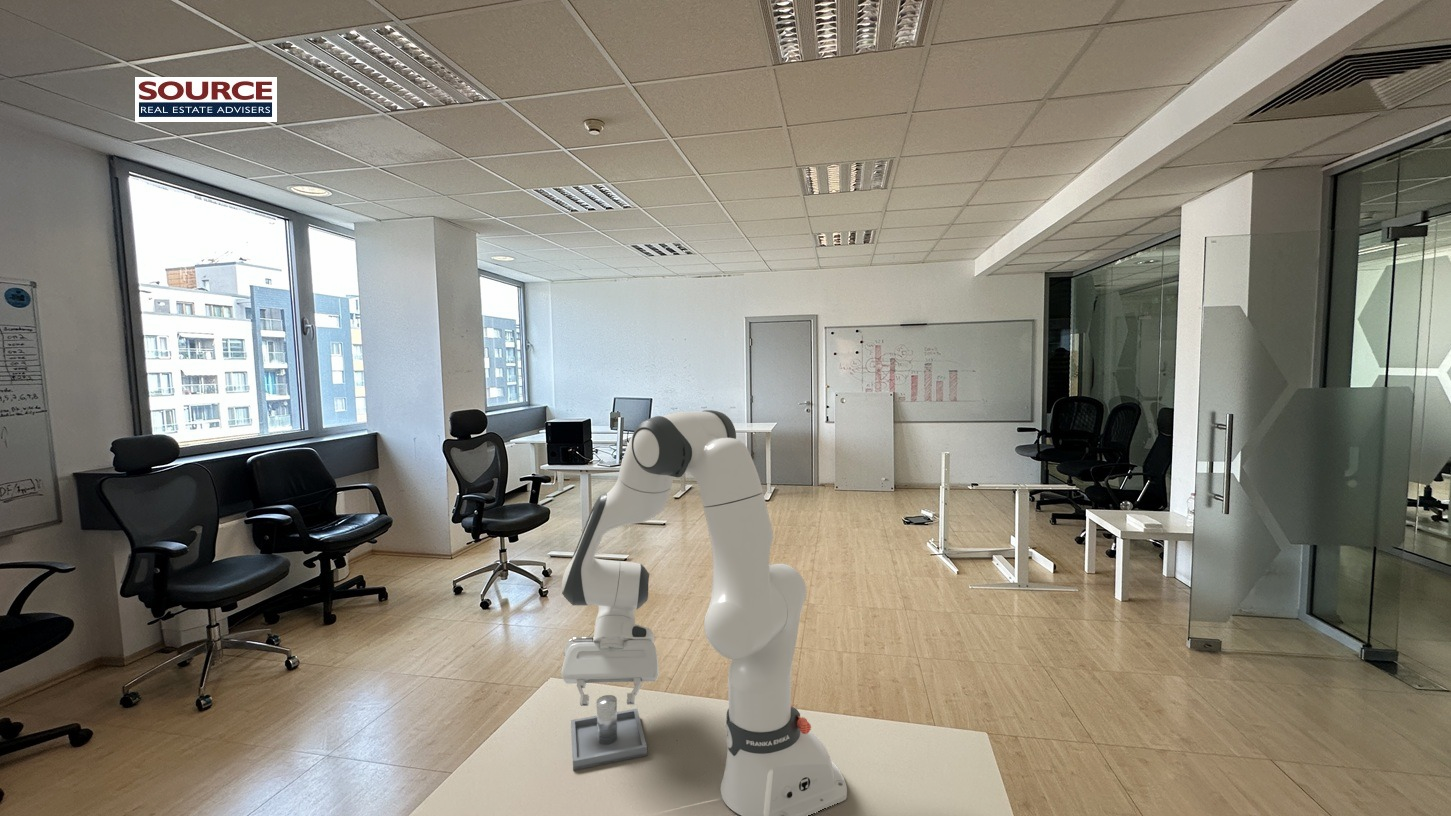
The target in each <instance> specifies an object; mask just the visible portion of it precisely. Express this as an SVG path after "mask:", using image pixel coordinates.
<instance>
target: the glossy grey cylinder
mask: <svg viewBox="0 0 1451 816" xmlns="http://www.w3.org/2000/svg"><path fill="white" fill-rule="evenodd" d="M617 701H618V699H617V697H616V696H615V695H612V694H604V695H601V696H600V697H598V698H597V699H596V716H597V741H598V743H600V744H602V745H609V744H612V743H614V742H615V741H616V740H617V738H618V737H617V712H618V705H617V704H618V702H617Z"/></svg>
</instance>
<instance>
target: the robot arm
mask: <svg viewBox="0 0 1451 816" xmlns="http://www.w3.org/2000/svg"><path fill="white" fill-rule="evenodd" d="M685 473H687V474H689V475H690V476H692V478H694V479H695V481H696V484H697V485H698V488H699V493H700V498H701V504H702V506H703V508H702V509H703V511H704V515H705V516H704V517H705V519H706V526H707V529H708V534H709V535H708V536H709V538H710V539H709V540H710V544H711V550H712V551H711V552H712V583H711V584H712V586H711V596H710V601H709V604H708V606H707V611H706V613H705V617H704V623H703V625H704V626H703V629H704V634H705V637H706V639H707V641H708V643H709V644H710V646H711V647H712V649H713V650H714V651H715V652H716V653H718V654H719V655H720V656H722V657H724V658H727V659H729V660H731V662H730V664H729V666H728V667H729V668H728V674H727V675H728V678H727V679H728V681H727V682H728V709H727V711H726V718H725V719H726V720H725V721H726V722H725V723H726V724H725V740H726V743H725V744H726V746H727V751H726V752H727V754H726V761H725V767H724V772H723V776H722V780H721V783H720V796H721V799H722V800H723V802H724V804H725V805H726V806H727V807H728V809H731V810H732V811H733V812H734V813H735V814H737V815H740V816H807V815H811V814H813V813H815V812H817V811H820V810H821V809H824V808H826V809H828V808H827V807H829V806H831V807H833V806H835V805H837V803H838V804H839V803H842V802H844V801H846V800H847V798H848V787H847V784H846V780H845V778H844V775H843V774H842V771H841V770H840V769H839V767H838V766H837V765H836V763H835V762H834V761H833V760H832V759H831V756H830V753H829V751H828V750H827V748H826V746H825V745H824V743H823V741H822V740H821V739H820V738H819V737H818V735H816V734H815V733H814V732H812V731H811V730H812V725H811V723H809V721H808V719H807V718H805V717H803V716H802V717H801V713H800V712H799V710H798V709H797V708H795V707H793V705H792V693H791V692H792V670H793V669H792V667H793V661H794V655H795V650H796V649H795V648H796V643H797V639H798V634H799V633H798V632H799V625H800V624H799V623H800V619H801V614H802V610H803V607H804V603H805V601H806V597H807V586H806V585H807V584H806V583H805V580H804V578H803V576H802V575H801V574H800V572H799V571H798V570H797V569H796V568H794V567H793V566H791V565H788V564H786V563H774V564H773V563H772V564H770V558H771V557H770V556H771V554H770V553H771V547H772V544H773V539H774V532H773V527H772V524H771V523H772V522H771V519H770V515H769V511H768V507H767V503H766V502H767V501H766V498H765V494H764V489H763V487H762V483H761V479H760V476H759V473H758V470H757V468H756V465H755V463H754V460H753V457H752V456H751V453H750V450H749V449H748V447H747V445H746V444H745V443H744V442H743V441H741V440H739V439H737V433H736V428H735V425H734V423H733V421H732V420H731V418H730V417H728V415H726V414H725V413H723V412H720V411H716V410H710V409H704V410H701V411H699V410H697V411H678V412H673V413H669V414H665V415H656V416H651V418H648V419H646V420H644V421H642V422H641V423H639V424H638V425H637V426H636V428H635V429H634V430H633V434H632V435H631V436H630V439H629V441H628V444H627V446H626V448H625V451H624V453H623V456H622V460H621V463H620V467H619V472H618V476H617V480H616V482H615V484H614V485H613V486H612V488H611V489H610V490H609V491H607V492H605V493H603V494H601V495H599V497H598V498H597V499H596V500H595V502H594V504H593V507H592V509H591V511H590V513H589V516H588V517H587V519H586V523H585V526H584V528H583V530H582V532H581V535H580V538H579V539H578V540H579V541H578V543H577V545H576V548H575V551H574V553H573V555H572V557H571V559H570V561H569V563H568V565H567V566H566V568H565V570H564V573H563V575H562V580H561V594H562V596H563V597H564V598H565V600H566V601H568V602H569V603H570V604H571V606H575V607H577V606H597V607H598V611H597V612H598V613H597V615H596V618H595V621H594V629H593V635H592V636H584V637H583V636H582V637H581V636H575V637H574V636H573V637H572V639H569V640H568V641H567V642H566V643H565V646H564V652H563V655H564V659H563V661H562V662H563V663H562V667H561V672H560V675H561V679H562V681H563V682H564V683H565V684H569V685H570V684H576V687H577V690H578V692H579V695H580V700H579V704H580V707H588V706H589V701H590V696H589V694H586V693H585V691H584V689H586V685H587V684H597V683H598V684H600V683H601V684H602V683H603V684H604V683H605V684H606V683H608V684H609V683H633V686H634V687H633V689H632V691H631V692H629V693H628V692H627V694H626V697H627V698H626V704H627V705H633V706H634V705H635V703H636V696H637V694H638V692H639V691H640V689H641V688H642V682H655V681H657V679H658V677H659V658H658V651H657V648H656V645H655V635H654V632H653V630H652V629H651V628H649V627H646V626H642V625H639V624H636V618H635V610H636V611H637V610H639V609H640V608H641V607H642V606H643V605H644V604H646V602H647V601H648V599H649V582H650V580H649V579H650V573H649V571H648V569H647V568H646V567H645V566H644V564H642V563H638V562H635V561H634V562H632V561H626V560H625V561H624V560H611V559H603V558H601V559H600V558H597V557H595V555H596V553H597V551H598V549H599V546H600V544H601V541H602V539H603V537H604V535H606V534H607V533H608V532H610V531H611V530H615V529H617V528H618V529H619V528H621V527H624V526H629V525H634V524H641V523H643V522H647V521H649V520H651V519H653V518H655V517H656V516H658V515H659V514H660V513H661V512H663V510H664V509H665V507H666V506H667V503H668V500H669V498H670V494H671V491H672V487H673V481H674V478H677V479H679V478H681V477H683V476H684V474H685ZM834 804H835V805H834ZM832 805H833V806H832ZM829 808H830V807H829ZM824 810H825V809H824ZM820 812H821V811H820ZM817 813H818V812H817ZM815 814H816V813H815ZM813 815H814V814H813ZM811 816H812V815H811Z"/></svg>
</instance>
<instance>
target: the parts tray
mask: <svg viewBox="0 0 1451 816" xmlns="http://www.w3.org/2000/svg"><path fill="white" fill-rule="evenodd" d="M570 731H571V732H570V733H571V753H572V756H571V757H572V771H577V770H582V769H588V768H592V767H596V766H602V765H607V764H612V763H616V762H617V763H618V762H623V761H627V760H633V759H638V758H642V757H646V756H648V746H647V742H646V738H645V735H644V734H645V733H644V730H643V725H642V722H641V717H640V714H639V709H638V708H633V709H627V710H621V711H617V737H618V738H617V740H616V741H615V742H614V743H612V744H609V745H602V744H600V743H598V741H597V715H593V716H587V717H582V718H576V719H575V718H574V719H571V720H570Z"/></svg>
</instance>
